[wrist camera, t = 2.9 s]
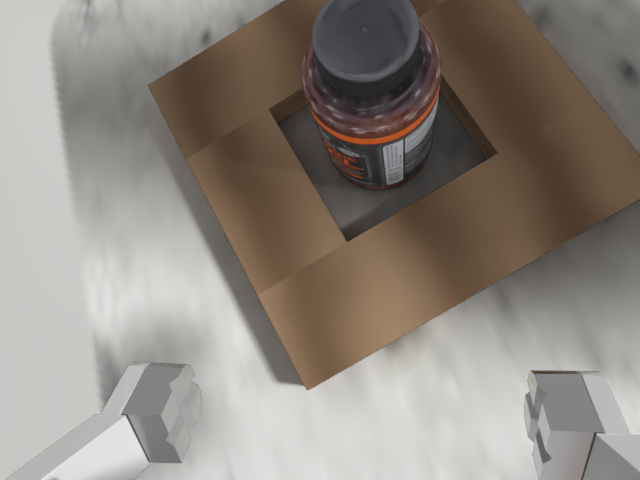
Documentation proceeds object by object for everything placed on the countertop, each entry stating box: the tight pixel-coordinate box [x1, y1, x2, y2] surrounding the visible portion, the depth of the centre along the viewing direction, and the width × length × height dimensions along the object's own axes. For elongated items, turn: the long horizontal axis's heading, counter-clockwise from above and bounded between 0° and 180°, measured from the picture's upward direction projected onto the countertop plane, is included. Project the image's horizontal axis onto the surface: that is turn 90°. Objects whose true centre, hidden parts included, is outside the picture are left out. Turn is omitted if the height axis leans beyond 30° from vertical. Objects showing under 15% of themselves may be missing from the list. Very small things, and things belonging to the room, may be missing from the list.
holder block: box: [148, 0, 640, 390], centre depth 29 cm, size 20×20×2 cm
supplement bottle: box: [302, 0, 441, 190], centre depth 24 cm, size 6×6×11 cm
